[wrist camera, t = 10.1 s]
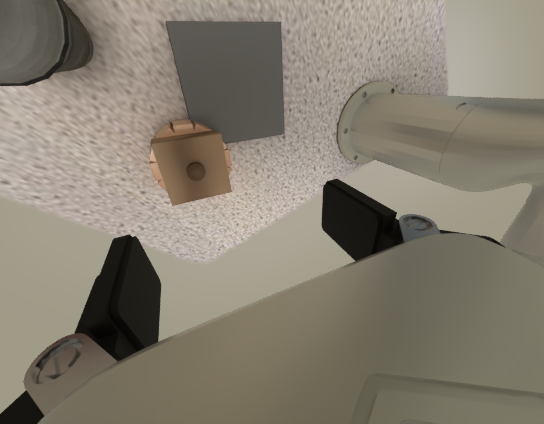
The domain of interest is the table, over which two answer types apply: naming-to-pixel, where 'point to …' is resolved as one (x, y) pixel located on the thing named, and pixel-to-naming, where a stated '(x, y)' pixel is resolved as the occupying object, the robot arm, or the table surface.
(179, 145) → the lid
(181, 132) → the bowl
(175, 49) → the mat
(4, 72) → the beverage cup
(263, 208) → the table surface
